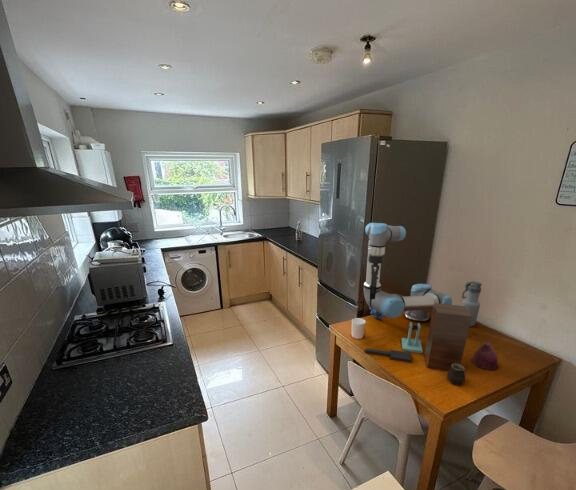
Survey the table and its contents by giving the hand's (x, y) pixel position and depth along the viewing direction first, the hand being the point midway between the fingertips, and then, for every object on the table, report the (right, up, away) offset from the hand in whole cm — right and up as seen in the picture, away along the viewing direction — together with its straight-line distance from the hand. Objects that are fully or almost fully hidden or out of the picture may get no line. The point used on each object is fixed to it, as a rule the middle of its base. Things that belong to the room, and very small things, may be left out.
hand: (372, 294), depth 159 cm
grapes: (+14, -17, +42) cm, 47 cm away
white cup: (-4, -25, +20) cm, 32 cm away
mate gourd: (+32, -40, -20) cm, 55 cm away
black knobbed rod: (+26, -20, +11) cm, 34 cm away
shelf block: (+33, -35, -6) cm, 48 cm away
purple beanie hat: (+55, -35, -7) cm, 65 cm away
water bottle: (+71, -19, +36) cm, 82 cm away
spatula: (+8, -32, +1) cm, 33 cm away
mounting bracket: (+24, -29, +9) cm, 39 cm away
